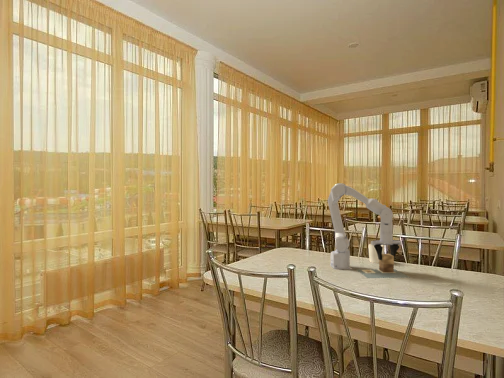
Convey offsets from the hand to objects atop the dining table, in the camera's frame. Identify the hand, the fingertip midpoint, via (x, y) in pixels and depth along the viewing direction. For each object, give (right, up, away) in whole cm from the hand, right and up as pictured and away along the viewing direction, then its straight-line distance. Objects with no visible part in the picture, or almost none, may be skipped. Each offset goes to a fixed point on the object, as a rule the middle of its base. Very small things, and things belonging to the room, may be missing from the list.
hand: (386, 259), depth 161 cm
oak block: (0, -2, 0) cm, 2 cm away
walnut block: (0, -6, 0) cm, 6 cm away
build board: (-4, -6, -4) cm, 8 cm away
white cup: (+2, -6, +19) cm, 20 cm away
